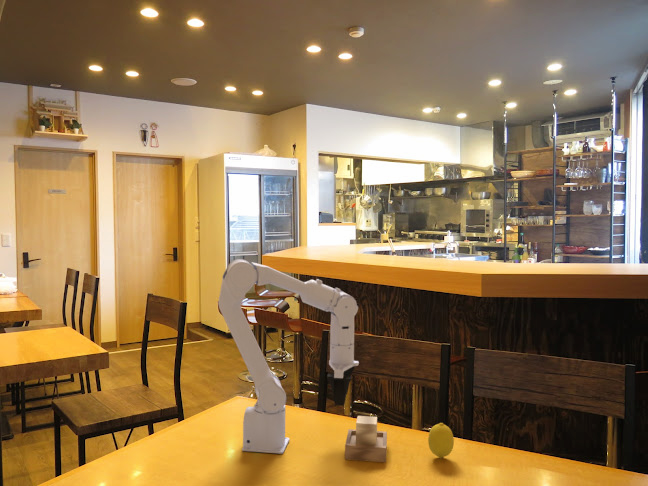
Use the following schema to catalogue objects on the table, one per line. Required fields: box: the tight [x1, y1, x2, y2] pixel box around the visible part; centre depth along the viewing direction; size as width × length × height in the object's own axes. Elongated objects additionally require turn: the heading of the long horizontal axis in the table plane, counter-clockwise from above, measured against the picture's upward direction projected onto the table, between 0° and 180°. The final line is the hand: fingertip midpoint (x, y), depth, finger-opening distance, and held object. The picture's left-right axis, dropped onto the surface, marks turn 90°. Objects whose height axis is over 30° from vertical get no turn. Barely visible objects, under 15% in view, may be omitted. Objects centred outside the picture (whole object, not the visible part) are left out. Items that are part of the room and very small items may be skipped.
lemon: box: [427, 422, 455, 459], centre depth 116 cm, size 6×6×8 cm
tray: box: [344, 428, 388, 463], centre depth 119 cm, size 9×9×3 cm
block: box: [355, 415, 378, 446], centre depth 119 cm, size 4×4×5 cm
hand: (341, 399), depth 125 cm, fingers open, 7 cm apart
